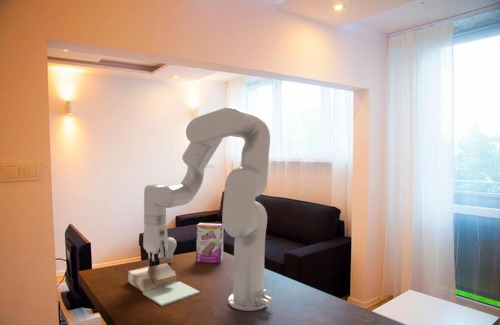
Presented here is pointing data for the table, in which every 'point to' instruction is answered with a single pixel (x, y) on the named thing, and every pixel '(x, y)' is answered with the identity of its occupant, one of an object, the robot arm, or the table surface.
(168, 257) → the lightbulb
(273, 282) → the table surface
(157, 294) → the sage mat
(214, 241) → the candy bar box
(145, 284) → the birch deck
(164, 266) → the walnut block
